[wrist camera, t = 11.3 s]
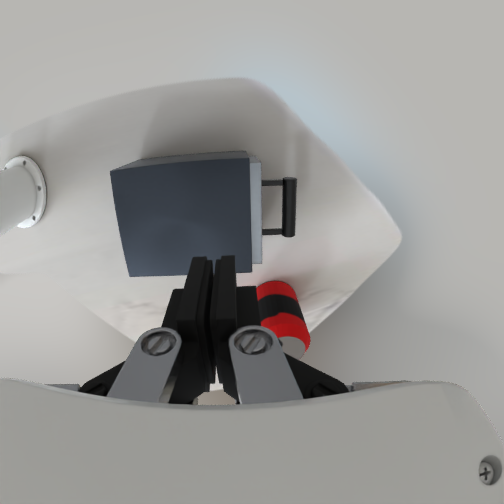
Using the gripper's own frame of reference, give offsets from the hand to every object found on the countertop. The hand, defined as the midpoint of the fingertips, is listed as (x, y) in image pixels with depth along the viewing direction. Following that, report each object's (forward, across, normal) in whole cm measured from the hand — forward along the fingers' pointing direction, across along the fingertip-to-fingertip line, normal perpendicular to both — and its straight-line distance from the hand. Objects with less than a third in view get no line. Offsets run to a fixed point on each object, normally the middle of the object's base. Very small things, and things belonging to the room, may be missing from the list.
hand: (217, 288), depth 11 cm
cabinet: (+27, +5, +3) cm, 28 cm away
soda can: (+27, -6, +20) cm, 34 cm away
